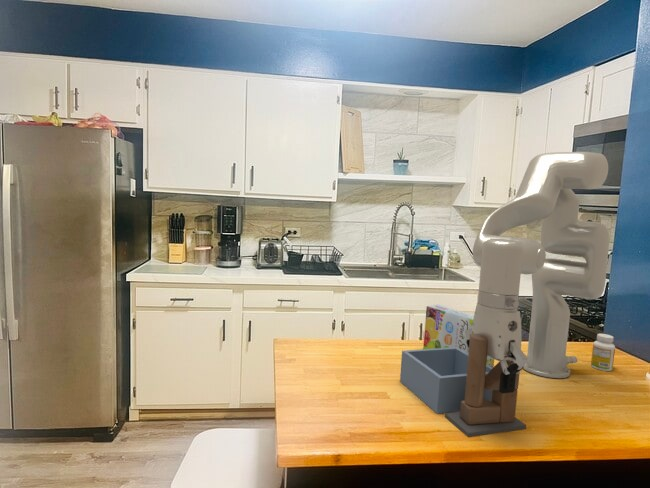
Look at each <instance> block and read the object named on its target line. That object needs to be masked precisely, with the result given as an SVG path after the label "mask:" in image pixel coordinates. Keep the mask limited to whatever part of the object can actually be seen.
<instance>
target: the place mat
mask: <svg viewBox="0 0 650 488" xmlns="http://www.w3.org/2000/svg"><path fill="white" fill-rule="evenodd" d="M444 417H445V419H446V420H448V421H449V422H450V423H451V424H452V425H454V426H455V427H456V428H457V429H458V430H459V431H461V432H462V433H463V434H464V435H465V436H466V437H468V438H470V437H478V436H483V435H491V434H499V433H504V432H511V431H518V430H526V429H527V424H526V423H525V422H523V421H522V420H520V419H518V418H517V417H515V421H514V422H506V423H500V422H499V423H488V424H473V425H468V424H467V423H466V422H465V421H464V420H463V419H462V418H461V417H460V411H457V412H449V413H444Z"/></svg>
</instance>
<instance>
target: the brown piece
mask: <svg viewBox="0 0 650 488" xmlns="http://www.w3.org/2000/svg"><path fill="white" fill-rule="evenodd" d="M487 346H488V339H487V338H486V337H484V336H482V335H480V334H471V335H470V342H469V354H468V365H467V377H466V389H465V401H461V407H460V411H459V412H460V417H461V418H462V419H463V420H464V421H465V422H466V423H467V424H468V425H473V424H488V423H499V422H500V423H506V422H514V421H515V418H516V410H517V409H516V408H517V401H518V399H517V398H518V389H519V384H520V383H519V382H520V374H521V373H520V372H521V371H519V373H518V374H516V380H515V390H514V392H511V393H501V392H499V386H500V375H501V373H503V369H502V367H501V364H500V361H498V362H497V363H496V364H494V368H493V369H492V370H491V371H490V372H489V373H488V374H487V375H486V376H485V374H486V363H487ZM504 357H507V356H504ZM507 365H508V367H509V366H510V363H509V361H508V362H507ZM484 388H485V389H487V390H488V391H489V390H493V392H492V402H490V401H487V400H483V396H484Z"/></svg>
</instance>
